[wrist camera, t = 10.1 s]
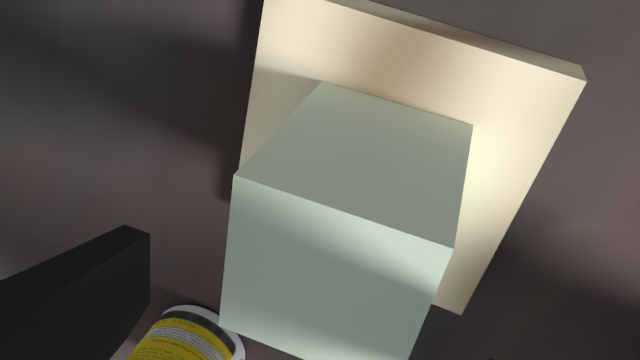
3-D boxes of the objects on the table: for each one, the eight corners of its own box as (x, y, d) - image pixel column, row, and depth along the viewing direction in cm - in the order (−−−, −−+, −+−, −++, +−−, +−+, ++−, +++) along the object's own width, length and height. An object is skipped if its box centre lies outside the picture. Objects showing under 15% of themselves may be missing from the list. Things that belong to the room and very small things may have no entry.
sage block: (473, 125, 15) (454, 249, 10) (427, 247, 17) (393, 394, 12) (322, 80, 16) (233, 174, 11) (298, 203, 18) (218, 325, 13)
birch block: (578, 59, 15) (586, 81, 13) (464, 279, 20) (461, 315, 18) (291, -28, 16) (266, -18, 15) (251, 198, 21) (229, 225, 20)
